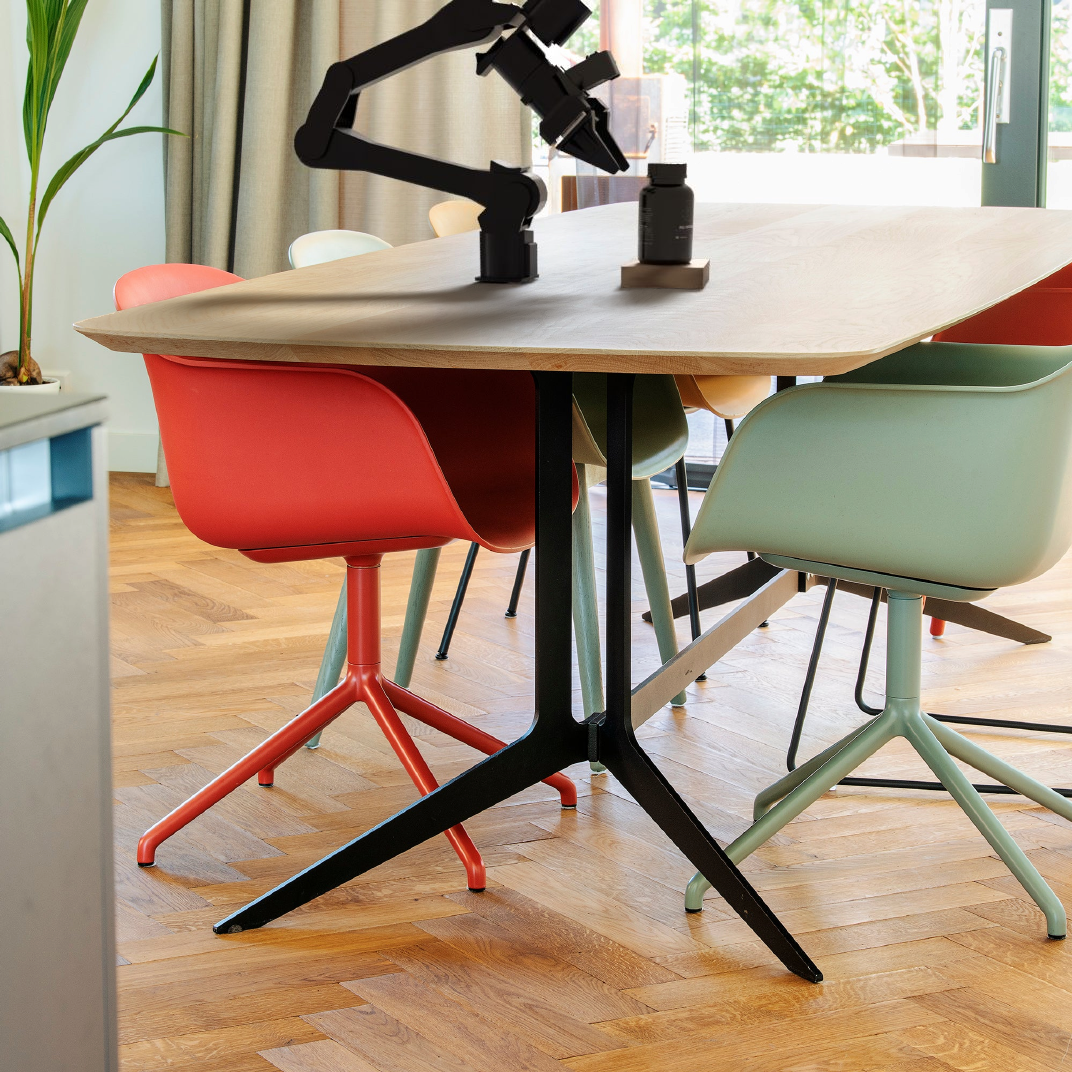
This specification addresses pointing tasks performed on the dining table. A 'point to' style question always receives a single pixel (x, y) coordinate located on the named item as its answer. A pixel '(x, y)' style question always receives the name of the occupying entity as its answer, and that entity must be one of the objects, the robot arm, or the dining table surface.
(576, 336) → the dining table surface
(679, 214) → the supplement bottle
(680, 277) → the tan flat square block
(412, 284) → the dining table surface
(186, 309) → the dining table surface
